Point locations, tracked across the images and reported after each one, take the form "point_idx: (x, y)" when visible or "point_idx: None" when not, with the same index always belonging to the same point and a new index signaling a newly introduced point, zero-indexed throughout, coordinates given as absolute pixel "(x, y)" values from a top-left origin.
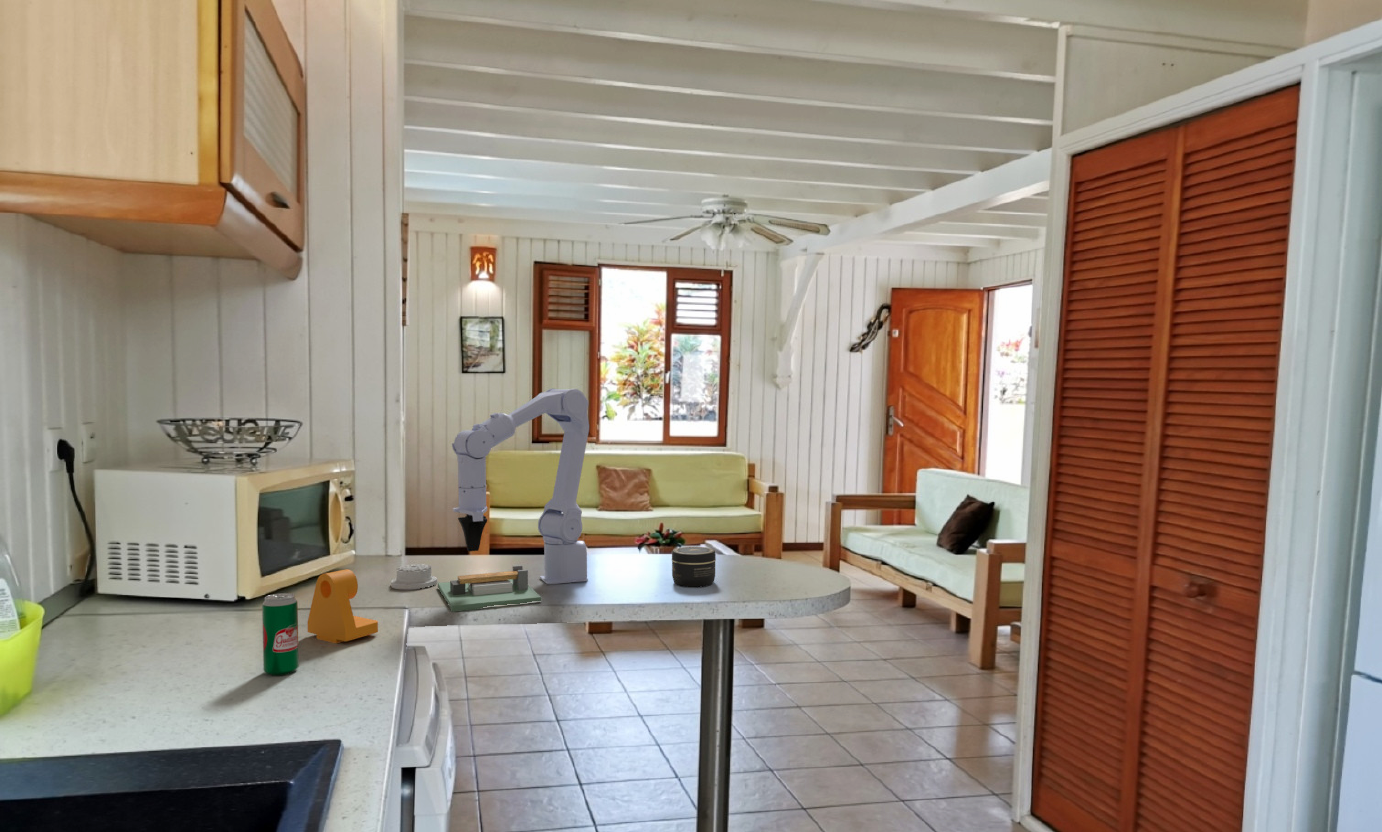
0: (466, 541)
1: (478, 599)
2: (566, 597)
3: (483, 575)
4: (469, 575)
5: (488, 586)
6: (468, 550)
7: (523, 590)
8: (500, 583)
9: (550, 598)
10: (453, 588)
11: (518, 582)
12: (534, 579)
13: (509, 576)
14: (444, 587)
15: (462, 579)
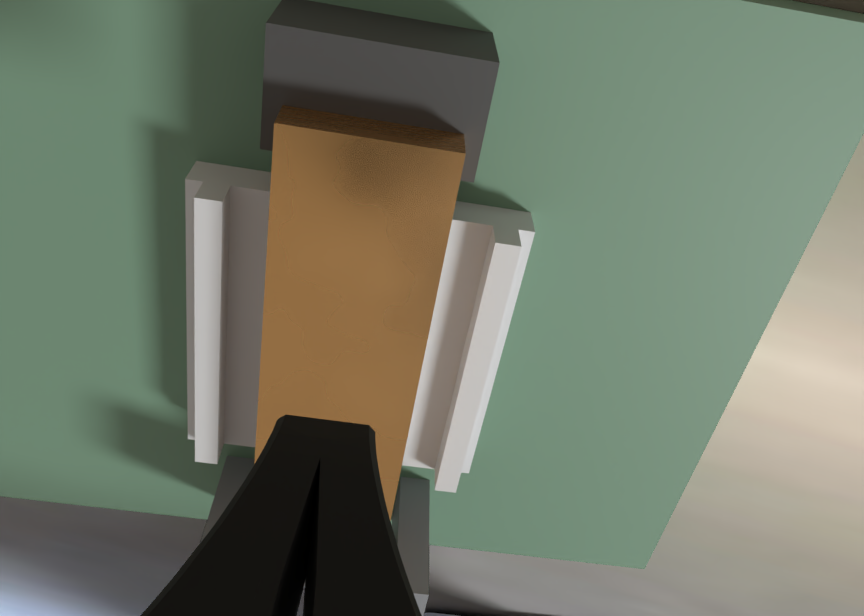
0: (238, 510)
1: (23, 143)
2: (86, 587)
3: (341, 355)
4: (416, 258)
5: (196, 306)
6: (280, 421)
7: (205, 474)
8: (214, 399)
9: (93, 529)
10: (272, 16)
11: (218, 497)
12: (618, 605)
13: None
14: (671, 27)
15: (275, 146)
